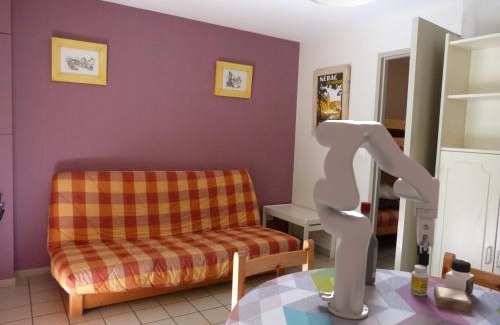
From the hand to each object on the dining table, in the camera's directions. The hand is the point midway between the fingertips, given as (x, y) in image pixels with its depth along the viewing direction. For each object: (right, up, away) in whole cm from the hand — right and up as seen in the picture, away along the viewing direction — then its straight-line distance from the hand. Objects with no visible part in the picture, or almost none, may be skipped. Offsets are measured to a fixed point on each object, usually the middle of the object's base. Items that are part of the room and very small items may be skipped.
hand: (422, 259), depth 137 cm
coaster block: (+7, -13, -6) cm, 16 cm away
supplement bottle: (-1, -12, +1) cm, 12 cm away
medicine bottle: (+14, -13, +2) cm, 19 cm away
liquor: (-19, -11, +10) cm, 24 cm away
